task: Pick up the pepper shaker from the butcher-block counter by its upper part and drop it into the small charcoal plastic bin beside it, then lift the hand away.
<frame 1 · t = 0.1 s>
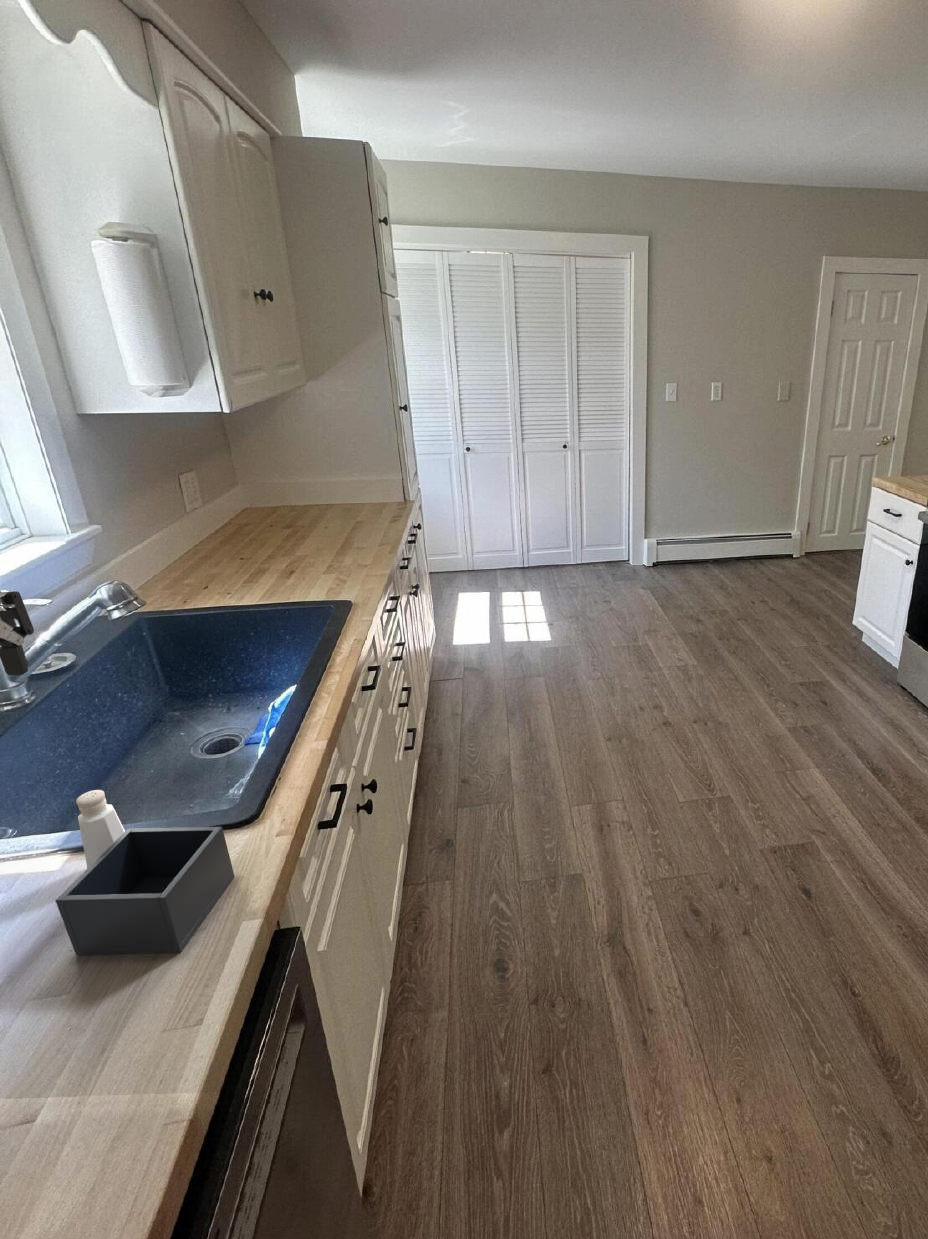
bin: (161, 913, 78), on the counter
pepper shaker: (113, 867, 85), on the counter
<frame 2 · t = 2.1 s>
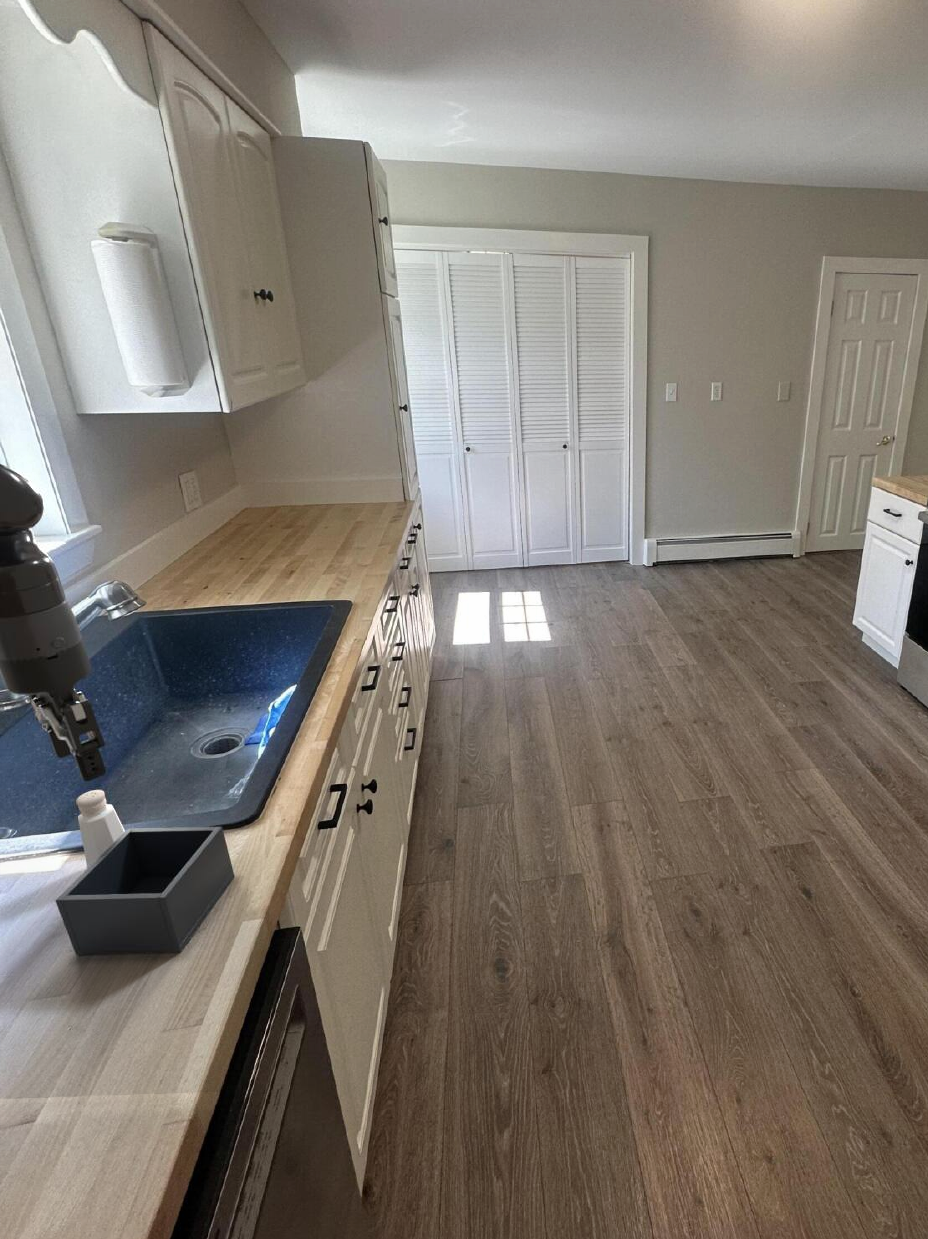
hand: (81, 765, 80), 16 cm above the counter, tool pointing down, fingers open, 8 cm apart
nothing on the counter moved.
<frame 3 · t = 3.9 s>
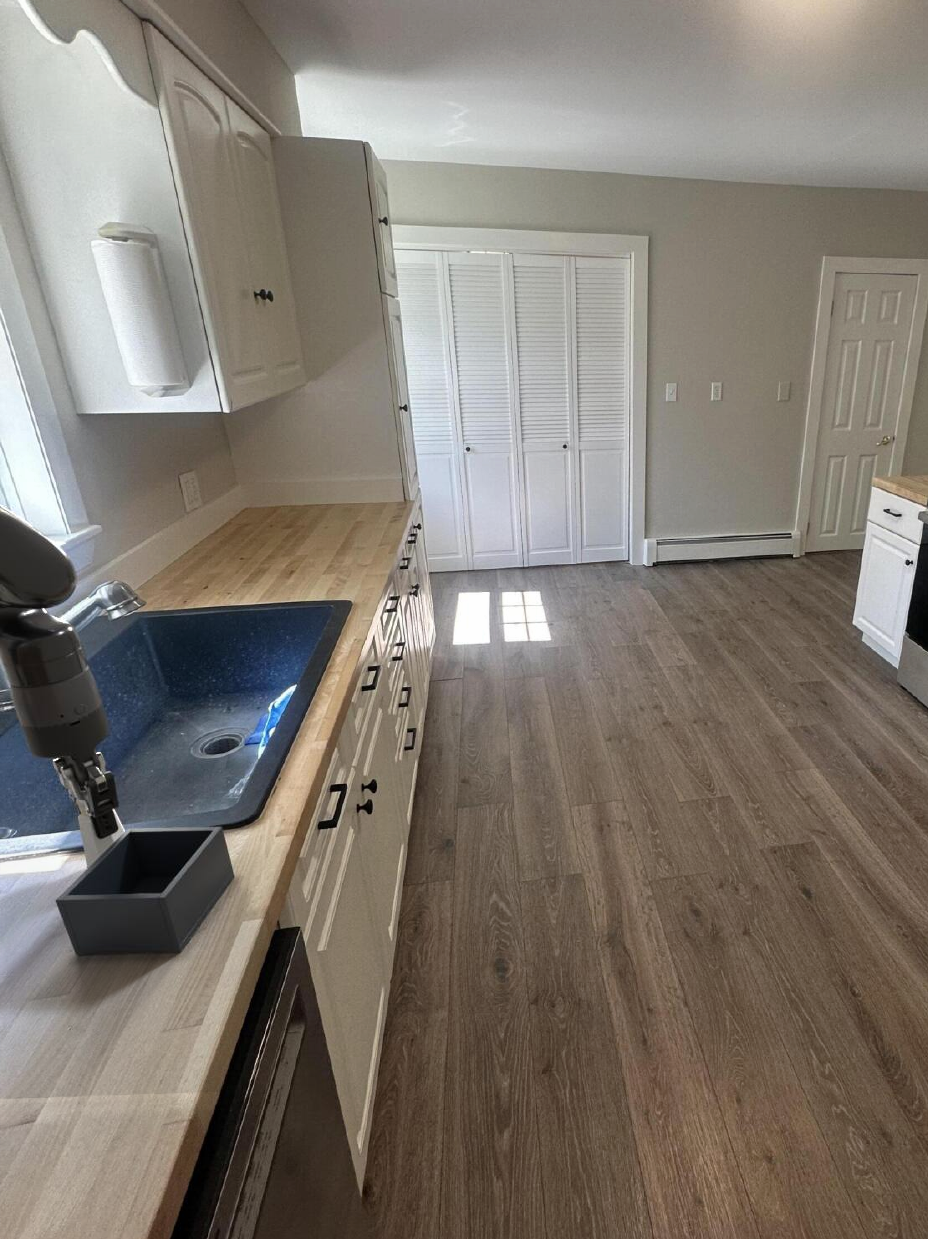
hand: (100, 827, 83), 6 cm above the counter, tool pointing down, fingers closed on pepper shaker, 4 cm apart
pepper shaker: (113, 867, 85), on the counter, touching gripper
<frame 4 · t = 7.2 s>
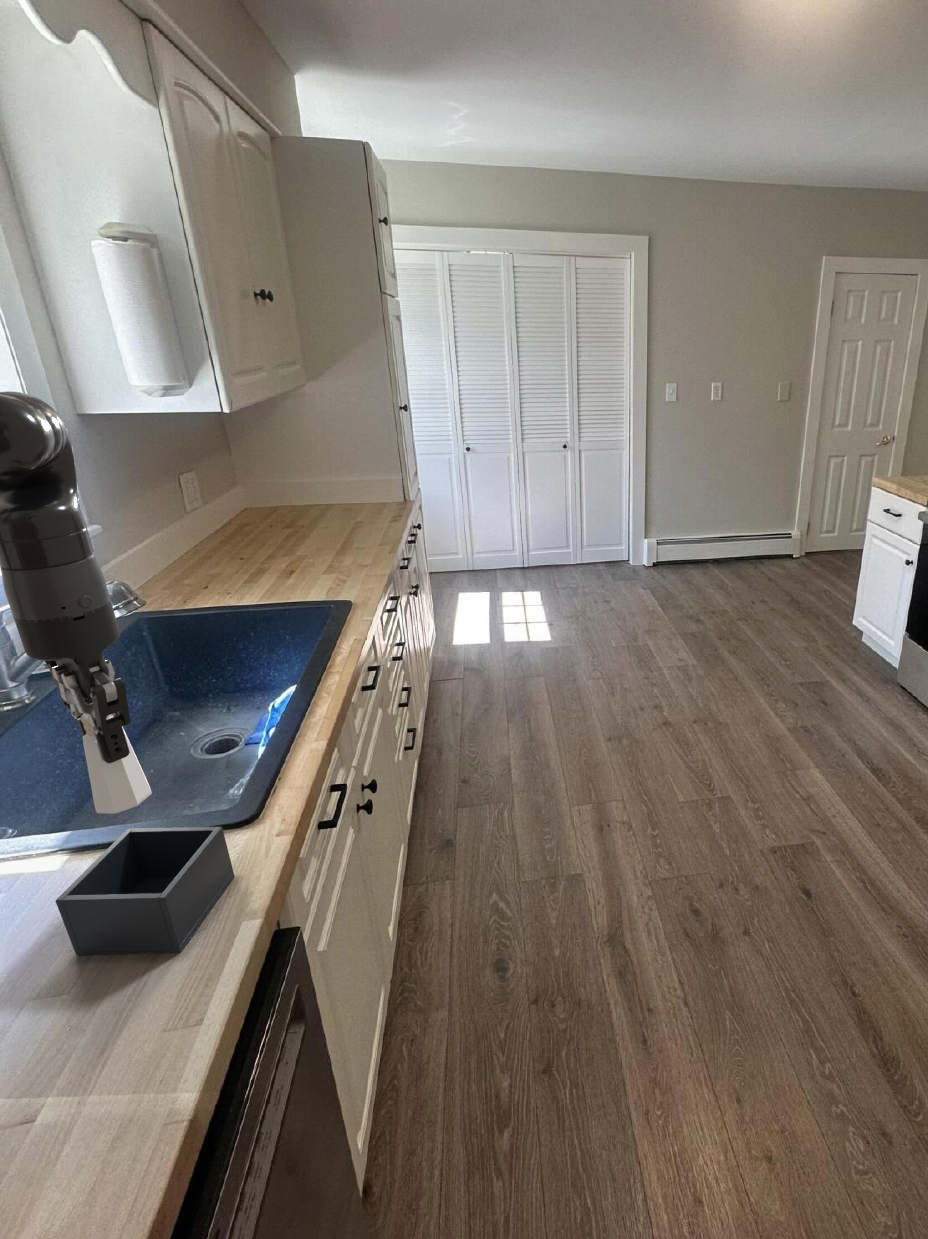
hand: (108, 751, 71), 22 cm above the counter, tool pointing down, fingers closed on pepper shaker, 4 cm apart
pepper shaker: (124, 800, 73), point 16 cm above the counter, touching gripper
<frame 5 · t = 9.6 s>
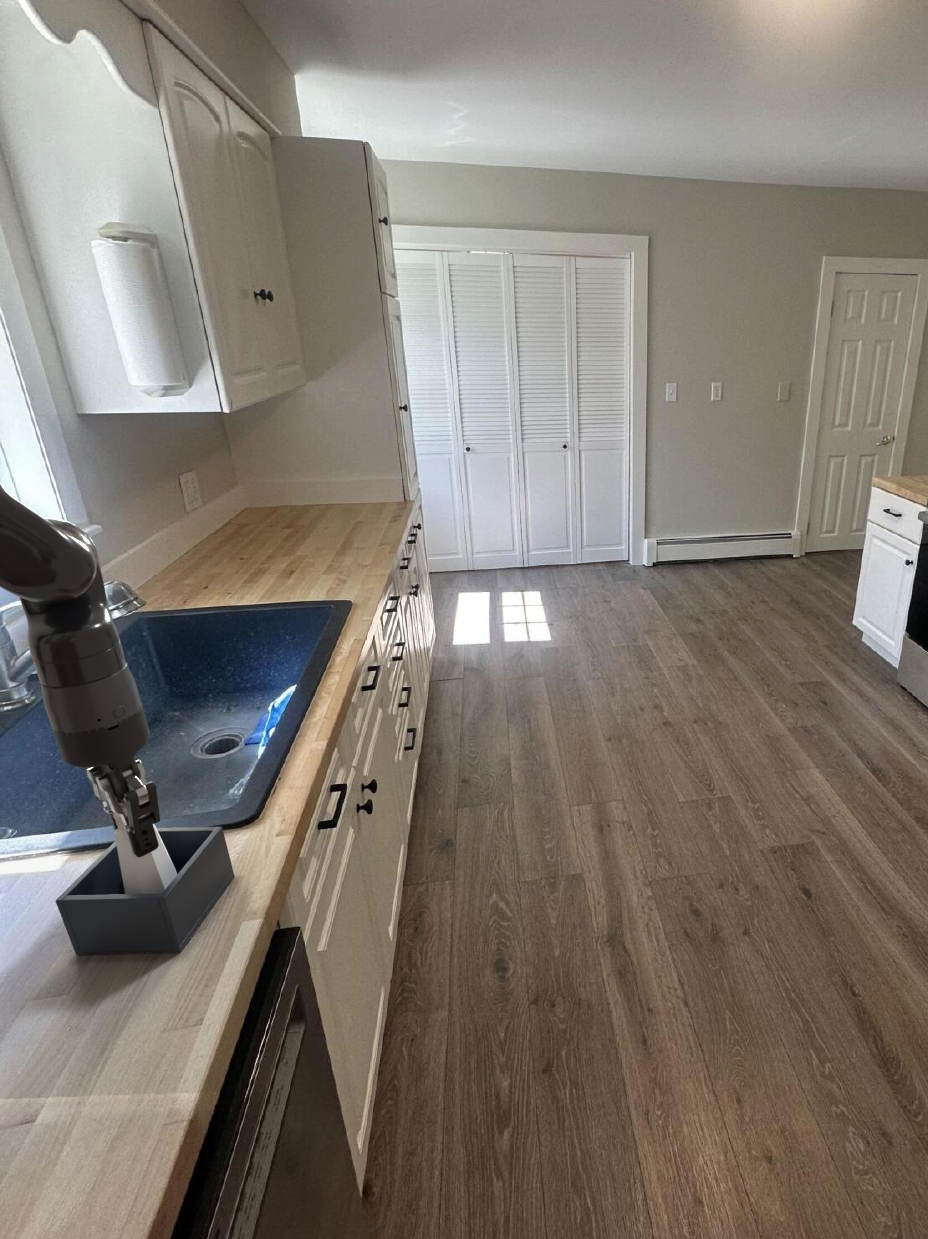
hand: (138, 843, 74), 10 cm above the counter, tool pointing down, fingers closed on pepper shaker, 4 cm apart
pepper shaker: (152, 887, 77), point 4 cm above the counter, touching gripper
when the fingers open (7 cm above the counter, at t = 10.9 s): pepper shaker stays where it is, resting on bin.
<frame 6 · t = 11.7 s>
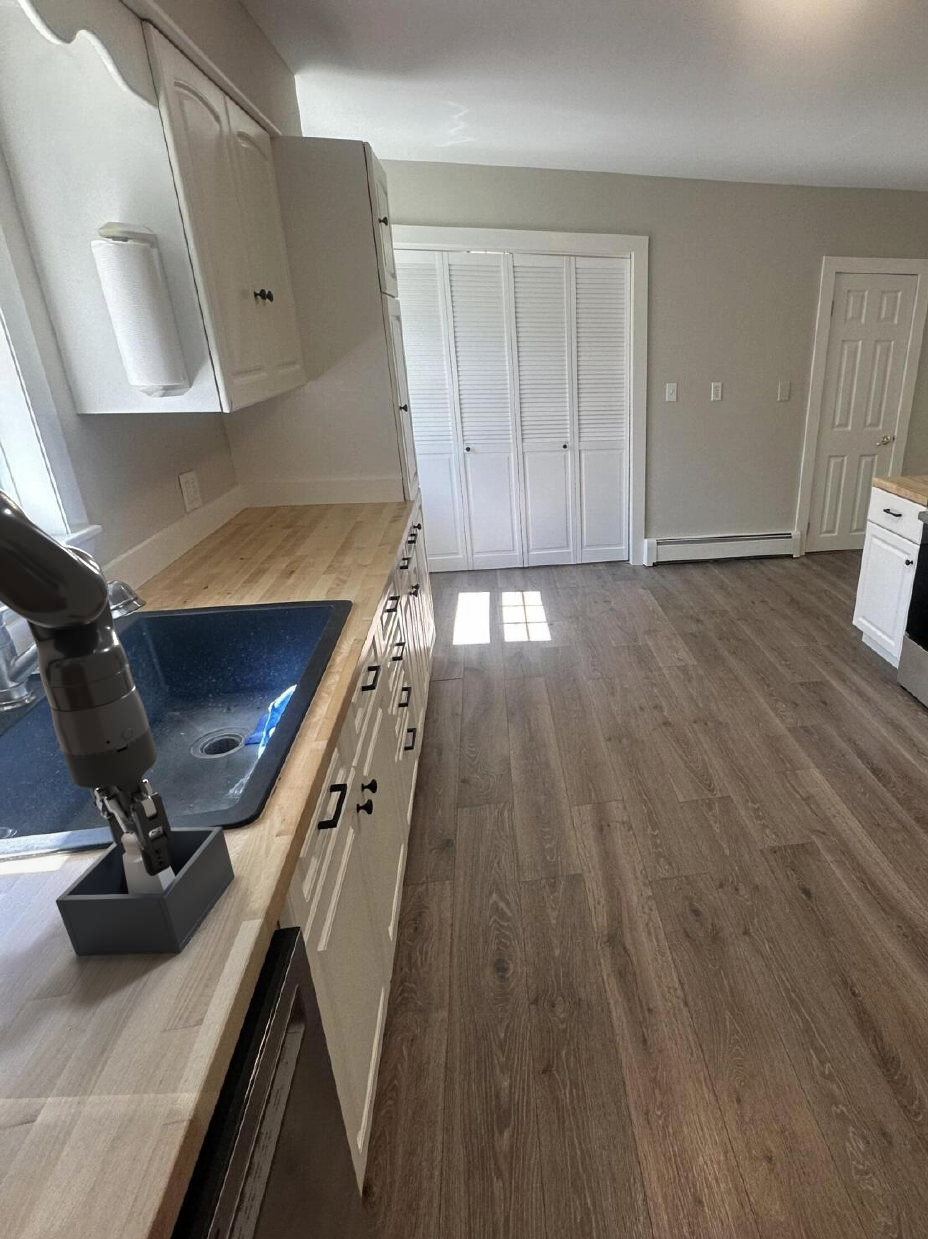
hand: (142, 855, 75), 9 cm above the counter, tool pointing down, fingers open, 8 cm apart
pepper shaker: (159, 909, 78), point 1 cm above the counter, touching bin
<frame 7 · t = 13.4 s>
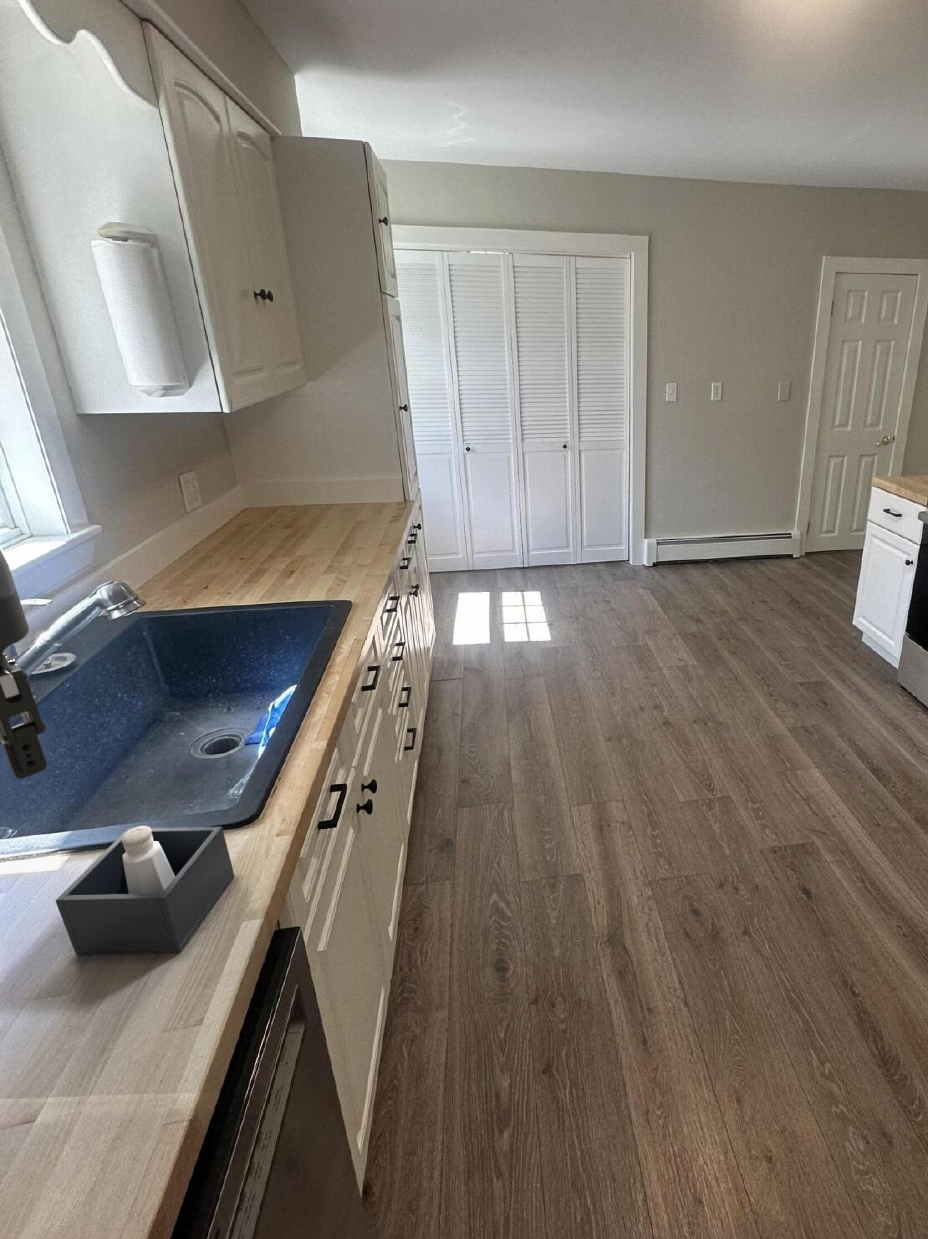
hand: (14, 757, 61), 27 cm above the counter, tool pointing down, fingers open, 8 cm apart
nothing on the counter moved.
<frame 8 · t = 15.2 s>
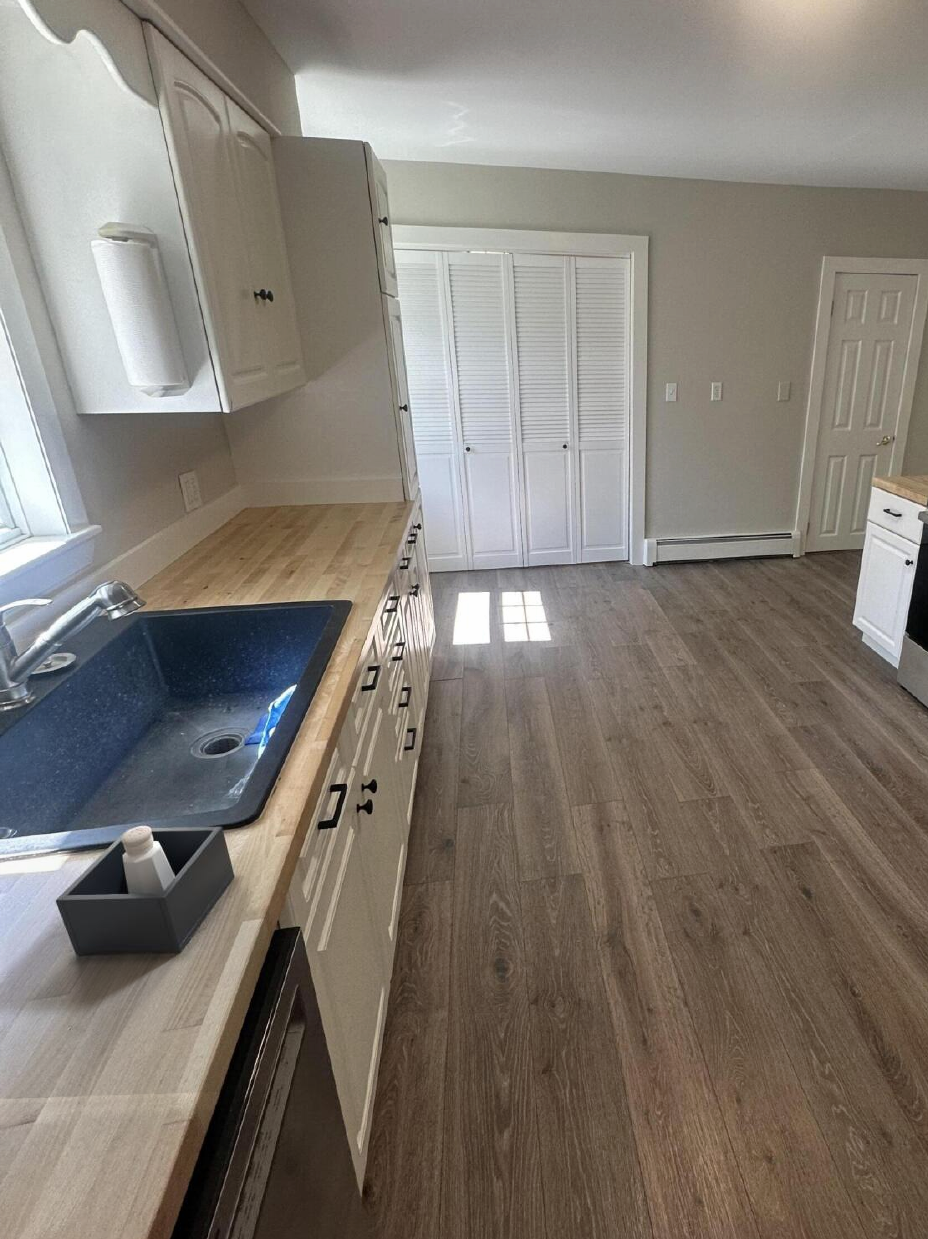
nothing on the counter moved.
at the end: pepper shaker inside the target area in the bin (0.1 cm from its centre), point 0.6 cm above the bin's base; the gripper is holding nothing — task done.
